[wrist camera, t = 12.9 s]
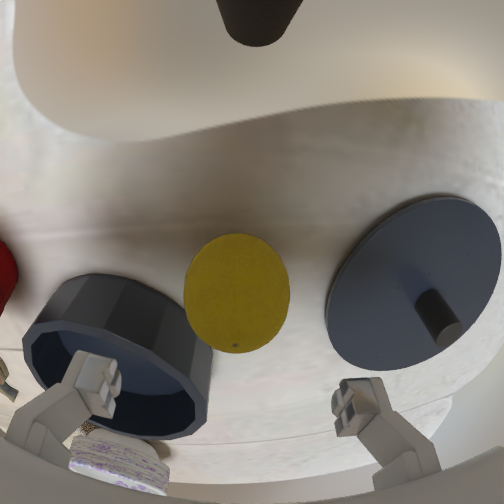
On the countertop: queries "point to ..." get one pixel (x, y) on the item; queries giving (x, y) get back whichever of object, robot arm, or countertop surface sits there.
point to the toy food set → (1, 386)
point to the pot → (126, 353)
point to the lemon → (236, 293)
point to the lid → (414, 284)
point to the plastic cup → (6, 275)
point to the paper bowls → (119, 461)
